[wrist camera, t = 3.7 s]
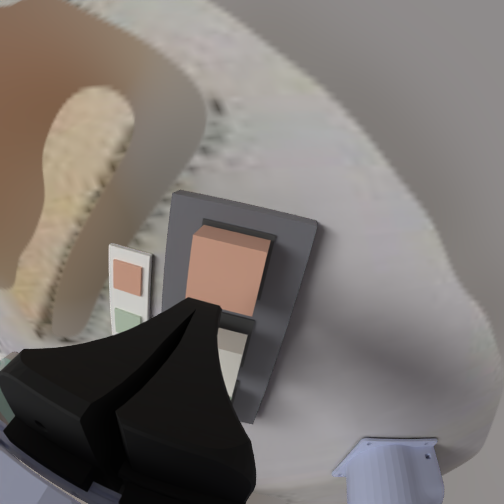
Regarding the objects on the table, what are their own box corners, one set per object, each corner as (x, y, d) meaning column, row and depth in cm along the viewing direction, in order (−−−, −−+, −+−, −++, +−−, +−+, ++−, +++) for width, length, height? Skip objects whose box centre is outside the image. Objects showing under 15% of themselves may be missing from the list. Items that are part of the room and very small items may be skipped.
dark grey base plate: (316, 220, 17) (317, 226, 15) (254, 413, 23) (252, 425, 22) (180, 189, 17) (171, 193, 16) (164, 388, 23) (159, 399, 22)
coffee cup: (22, 341, 26) (-40, 401, 14) (60, 397, 28) (11, 460, 17) (-3, 342, 28) (-55, 391, 16) (29, 391, 30) (-14, 443, 19)
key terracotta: (270, 240, 16) (267, 252, 14) (256, 299, 17) (252, 316, 15) (203, 224, 16) (192, 234, 14) (195, 283, 17) (185, 298, 15)
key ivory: (247, 335, 17) (242, 354, 15) (237, 377, 18) (231, 396, 16) (187, 318, 17) (177, 336, 15) (183, 362, 18) (174, 380, 17)
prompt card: (152, 254, 19) (148, 257, 18) (149, 346, 22) (146, 351, 21) (112, 243, 19) (107, 245, 18) (114, 334, 22) (111, 338, 21)
